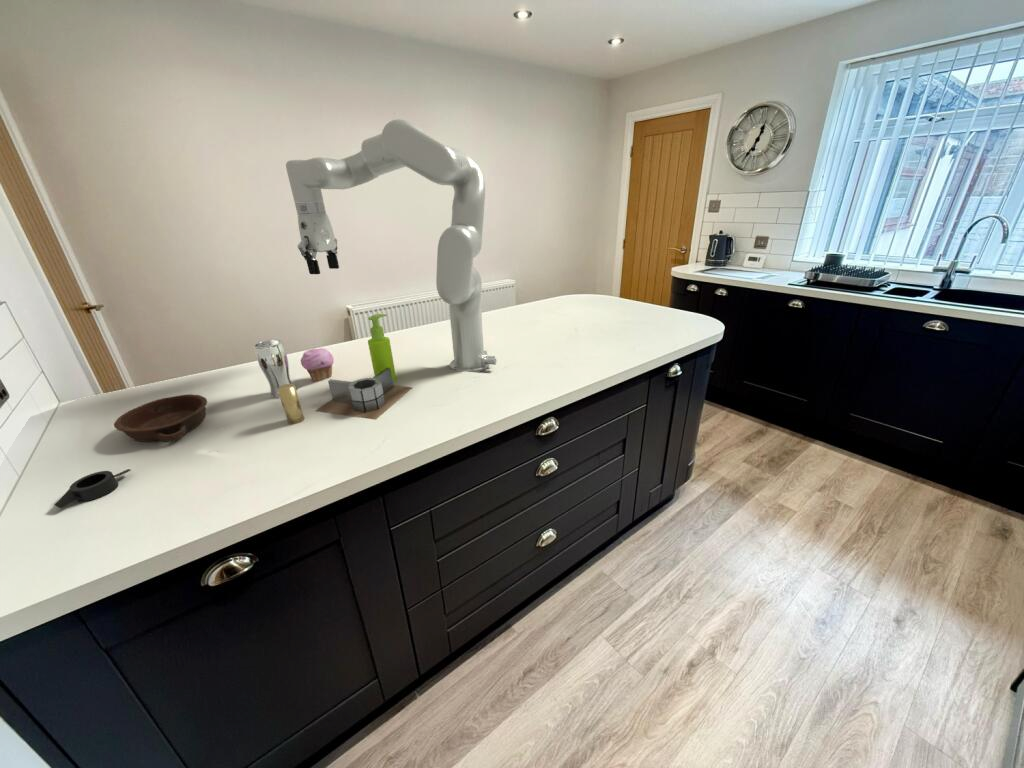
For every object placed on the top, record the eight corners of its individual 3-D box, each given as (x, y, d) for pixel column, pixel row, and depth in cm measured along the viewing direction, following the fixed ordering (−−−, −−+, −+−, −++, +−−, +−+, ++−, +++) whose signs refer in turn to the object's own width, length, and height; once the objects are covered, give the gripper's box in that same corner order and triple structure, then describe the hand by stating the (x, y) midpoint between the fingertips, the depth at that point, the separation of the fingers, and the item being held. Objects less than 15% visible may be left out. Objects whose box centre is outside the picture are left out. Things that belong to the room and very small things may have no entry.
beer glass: (276, 388, 114) (260, 339, 107) (301, 386, 114) (286, 338, 108) (265, 399, 108) (247, 348, 101) (291, 397, 108) (275, 347, 102)
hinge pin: (308, 421, 96) (298, 384, 92) (297, 428, 93) (286, 391, 89) (297, 419, 97) (285, 383, 93) (285, 426, 94) (273, 389, 90)
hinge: (404, 388, 109) (400, 368, 106) (373, 413, 97) (368, 392, 94) (359, 383, 113) (355, 364, 110) (324, 407, 100) (318, 386, 98)
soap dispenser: (402, 377, 118) (392, 313, 109) (387, 387, 112) (374, 320, 104) (387, 375, 120) (376, 311, 112) (371, 384, 115) (358, 318, 106)
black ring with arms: (67, 492, 75) (59, 480, 74) (135, 472, 80) (129, 460, 79) (56, 516, 69) (47, 503, 68) (130, 492, 74) (123, 480, 73)
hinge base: (413, 390, 110) (413, 387, 110) (376, 423, 94) (375, 419, 94) (359, 384, 115) (358, 381, 114) (315, 414, 99) (314, 410, 99)
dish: (125, 463, 83) (113, 443, 81) (122, 425, 98) (112, 407, 95) (221, 431, 94) (214, 413, 92) (206, 401, 108) (199, 385, 106)
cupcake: (302, 380, 118) (293, 350, 114) (330, 371, 124) (322, 342, 120) (314, 389, 113) (305, 357, 108) (343, 379, 118) (335, 348, 114)
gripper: (303, 210, 103) (318, 276, 111) (340, 208, 118) (351, 266, 126) (278, 211, 104) (295, 276, 112) (317, 209, 120) (330, 266, 127)
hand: (325, 271), depth 119 cm, fingers open, 9 cm apart
